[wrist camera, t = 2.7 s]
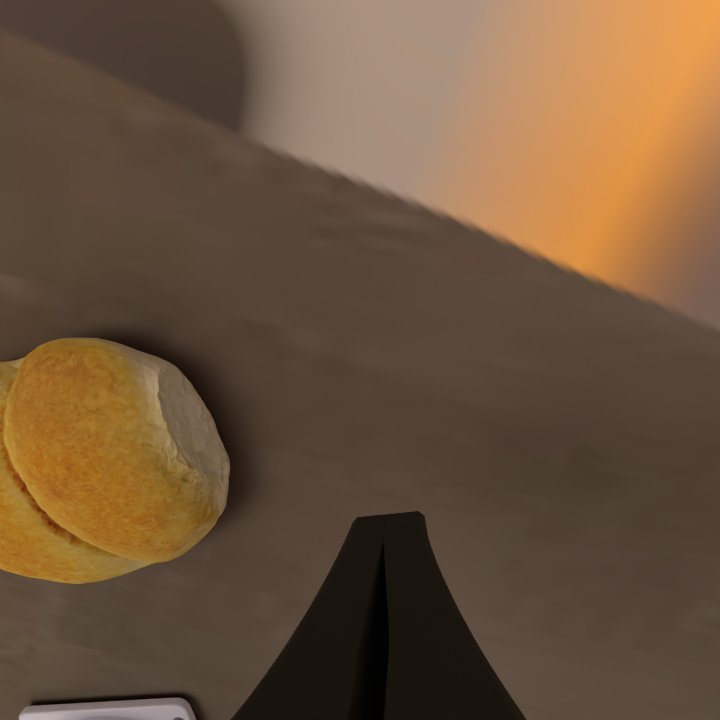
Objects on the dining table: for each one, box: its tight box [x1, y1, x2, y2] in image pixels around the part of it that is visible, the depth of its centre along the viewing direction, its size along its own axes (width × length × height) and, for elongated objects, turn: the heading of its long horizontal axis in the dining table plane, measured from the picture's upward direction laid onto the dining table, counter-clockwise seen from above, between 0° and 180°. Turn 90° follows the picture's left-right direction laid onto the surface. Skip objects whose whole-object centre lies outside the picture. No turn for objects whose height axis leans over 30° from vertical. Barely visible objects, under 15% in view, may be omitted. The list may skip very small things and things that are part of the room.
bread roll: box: [0, 338, 230, 584], centre depth 16 cm, size 8×9×4 cm
